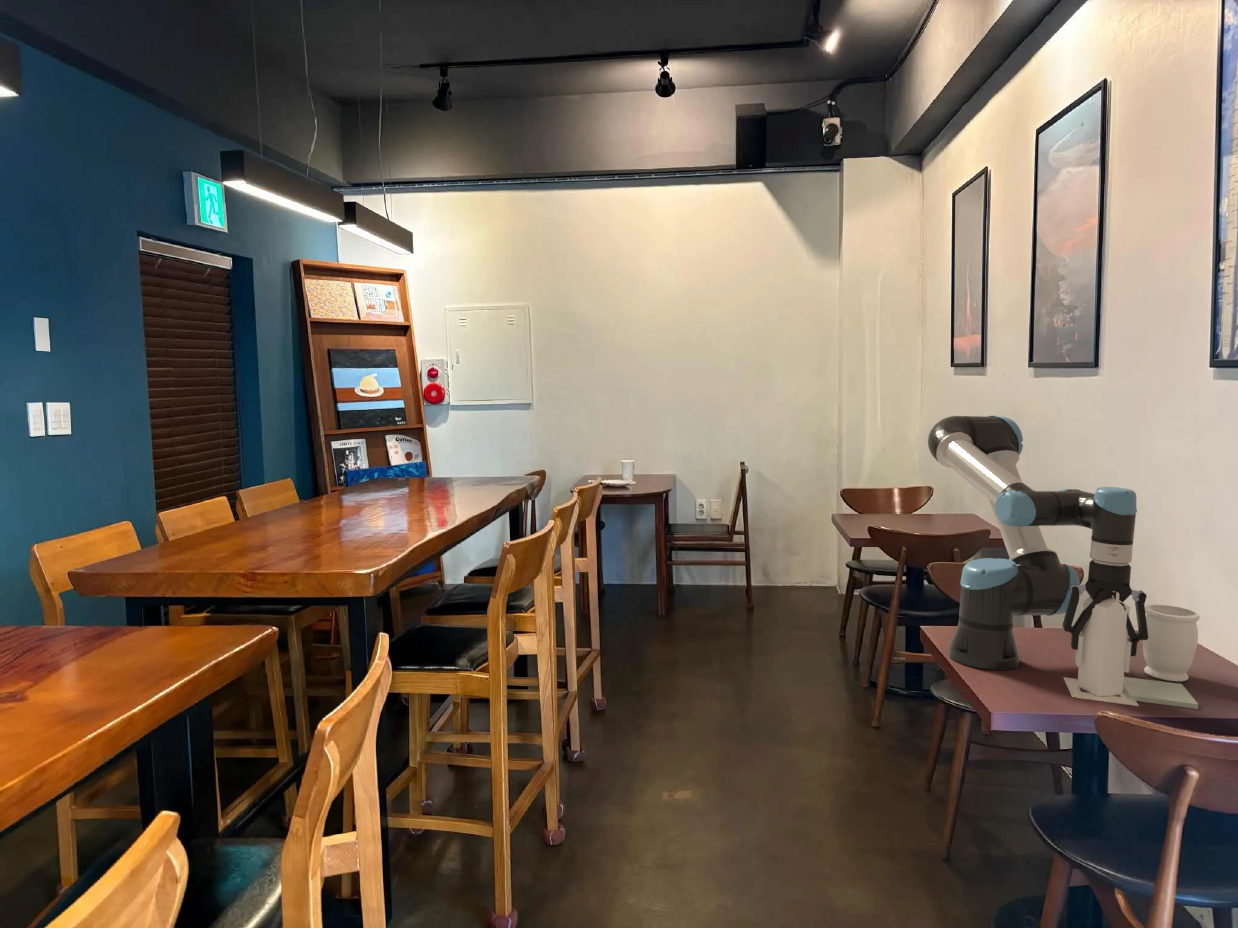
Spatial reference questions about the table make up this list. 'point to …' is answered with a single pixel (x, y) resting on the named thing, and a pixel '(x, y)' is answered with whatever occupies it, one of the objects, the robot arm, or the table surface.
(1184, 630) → the jar
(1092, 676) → the milk
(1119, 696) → the tile
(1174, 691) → the coaster
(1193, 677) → the table surface
